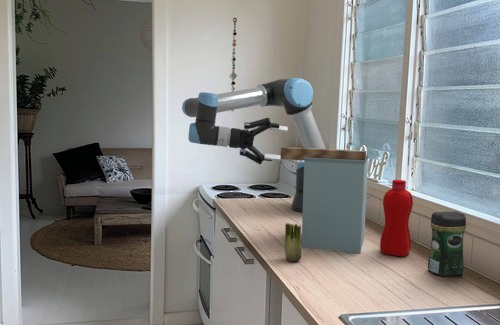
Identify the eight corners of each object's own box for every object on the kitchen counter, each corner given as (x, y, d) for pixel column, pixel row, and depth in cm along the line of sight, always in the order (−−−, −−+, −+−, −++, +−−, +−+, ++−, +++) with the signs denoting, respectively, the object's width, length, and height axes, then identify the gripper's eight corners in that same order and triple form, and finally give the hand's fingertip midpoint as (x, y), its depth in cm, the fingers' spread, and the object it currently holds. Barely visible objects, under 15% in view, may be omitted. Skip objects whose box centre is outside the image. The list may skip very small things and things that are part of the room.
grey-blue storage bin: (310, 233, 179) (313, 152, 176) (364, 239, 173) (368, 155, 170) (301, 246, 162) (304, 157, 159) (360, 253, 156) (364, 161, 153)
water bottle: (412, 250, 161) (417, 178, 158) (405, 258, 152) (410, 183, 148) (386, 245, 166) (390, 176, 163) (377, 253, 156) (381, 180, 153)
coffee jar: (450, 267, 145) (455, 208, 142) (467, 276, 137) (472, 214, 135) (422, 268, 143) (426, 209, 140) (438, 278, 135) (442, 215, 133)
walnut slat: (280, 159, 164) (280, 147, 163) (283, 157, 168) (283, 146, 167) (365, 163, 155) (365, 151, 155) (365, 162, 159) (366, 150, 158)
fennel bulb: (282, 258, 150) (283, 222, 148) (295, 257, 151) (297, 221, 150) (289, 264, 144) (291, 226, 143) (304, 262, 146) (305, 225, 144)
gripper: (225, 169, 182) (278, 175, 184) (233, 114, 167) (291, 121, 169) (226, 157, 188) (277, 163, 190) (233, 104, 173) (289, 111, 175)
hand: (284, 144), depth 180 cm, fingers open, 13 cm apart
